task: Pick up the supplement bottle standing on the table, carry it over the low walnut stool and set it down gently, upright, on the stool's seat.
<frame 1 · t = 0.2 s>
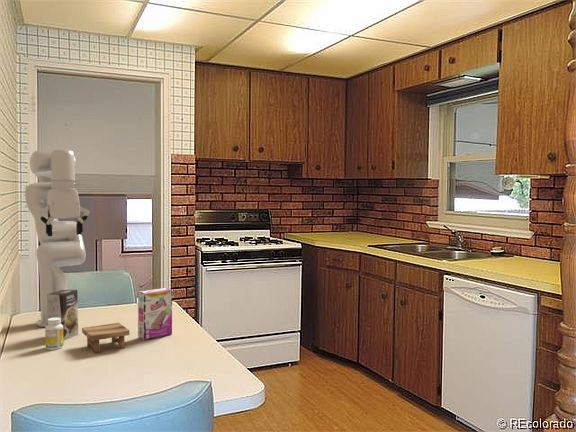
hand: (64, 235, 181), 36 cm above the table, tool pointing down, fingers open, 9 cm apart
stool: (105, 347, 172), on the table
supplement bottle: (54, 348, 172), on the table
candy bar box: (155, 337, 185), on the table
coffee box: (63, 337, 184), on the table
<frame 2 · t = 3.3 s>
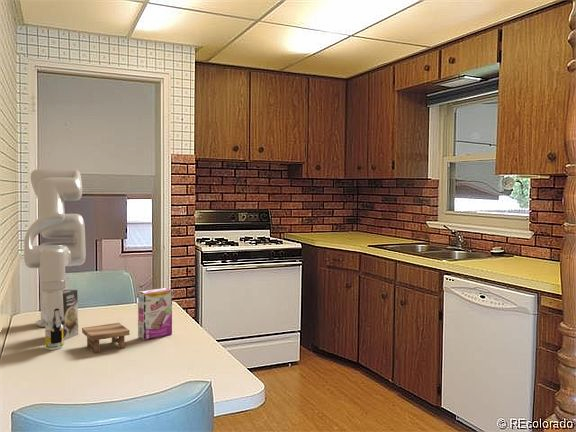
hand: (54, 340, 171), 3 cm above the table, tool pointing down, fingers closed on supplement bottle, 5 cm apart
supplement bottle: (54, 348, 172), on the table, touching gripper
everything else where it was.
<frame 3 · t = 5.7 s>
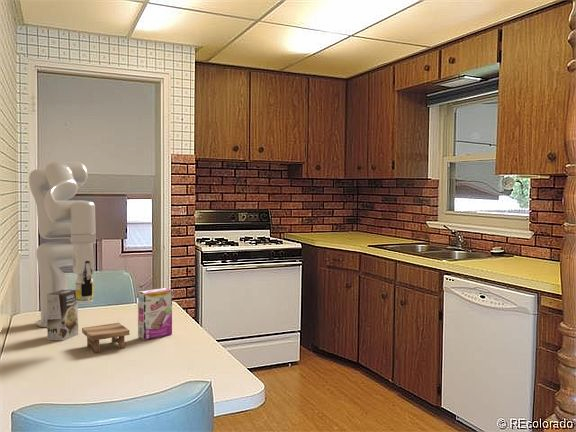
hand: (84, 293, 171), 18 cm above the table, tool pointing down, fingers closed on supplement bottle, 5 cm apart
supplement bottle: (84, 302, 171), point 15 cm above the table, touching gripper
everything else where it was.
when the fingers open (10 cm above the table, at t = 7.9 s): supplement bottle drops 1 cm, resting on stool.
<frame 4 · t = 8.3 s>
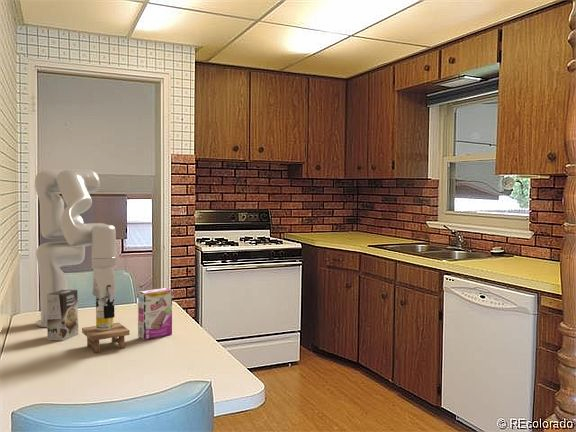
hand: (105, 314, 172), 11 cm above the table, tool pointing down, fingers open, 9 cm apart
supplement bottle: (105, 329, 172), point 6 cm above the table, touching stool
everything else where it was.
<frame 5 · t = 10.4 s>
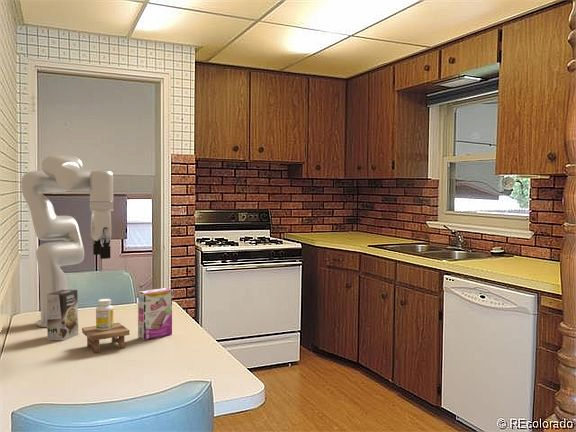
hand: (101, 256, 179), 29 cm above the table, tool pointing down, fingers open, 9 cm apart
nothing on the table moved.
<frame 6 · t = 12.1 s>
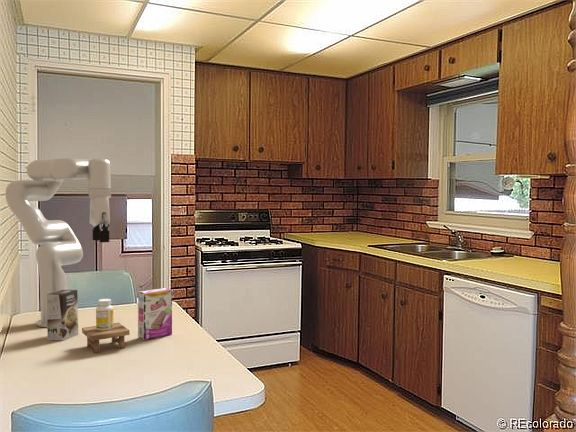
hand: (100, 241, 188), 33 cm above the table, tool pointing down, fingers open, 9 cm apart
nothing on the table moved.
at the end: supplement bottle inside the target area on the stool (0.3 cm from its centre), point 5.8 cm above the stool's base; supplement bottle tilted 0°; the gripper is holding nothing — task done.
